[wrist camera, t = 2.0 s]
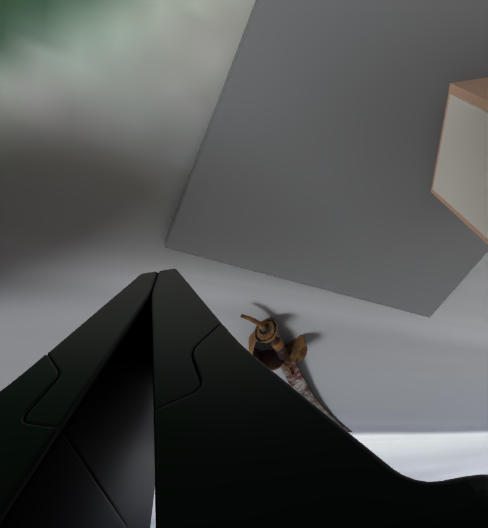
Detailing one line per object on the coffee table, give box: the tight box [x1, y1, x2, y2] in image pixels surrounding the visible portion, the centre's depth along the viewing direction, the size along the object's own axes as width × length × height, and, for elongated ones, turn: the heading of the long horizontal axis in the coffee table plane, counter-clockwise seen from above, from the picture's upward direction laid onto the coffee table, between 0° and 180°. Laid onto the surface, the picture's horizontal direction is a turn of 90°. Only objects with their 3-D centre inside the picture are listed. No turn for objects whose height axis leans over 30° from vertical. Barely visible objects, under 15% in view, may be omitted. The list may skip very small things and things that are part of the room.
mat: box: [165, 0, 488, 317], centre depth 23 cm, size 18×20×1 cm
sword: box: [241, 314, 352, 432], centre depth 35 cm, size 25×4×2 cm, turn 28°
